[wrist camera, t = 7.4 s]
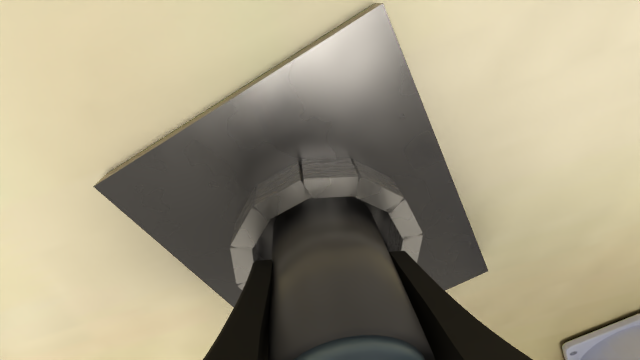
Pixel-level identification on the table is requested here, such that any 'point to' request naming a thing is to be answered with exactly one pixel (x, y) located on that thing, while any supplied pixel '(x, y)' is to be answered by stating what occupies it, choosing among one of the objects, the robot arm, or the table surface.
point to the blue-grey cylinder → (338, 288)
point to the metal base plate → (303, 163)
